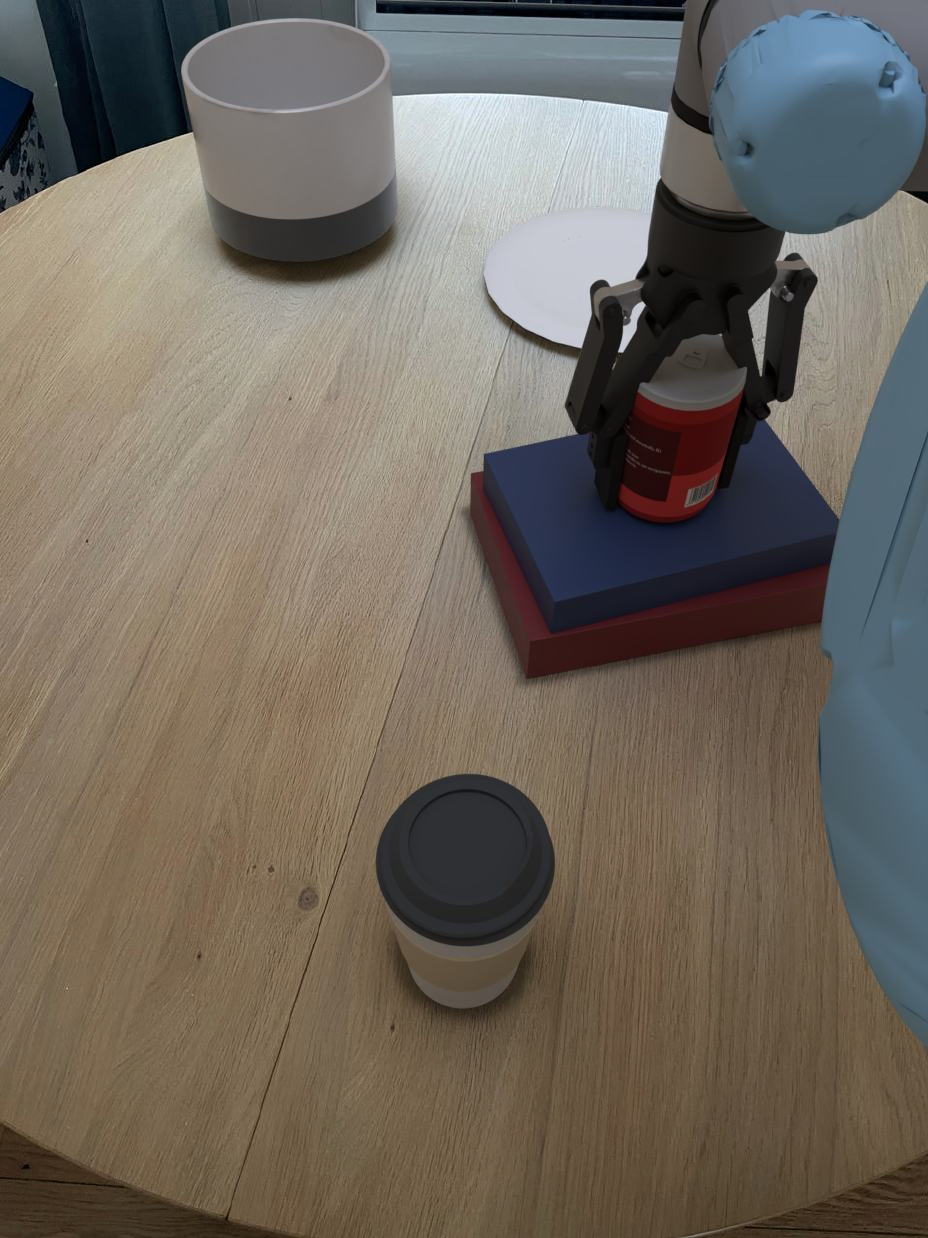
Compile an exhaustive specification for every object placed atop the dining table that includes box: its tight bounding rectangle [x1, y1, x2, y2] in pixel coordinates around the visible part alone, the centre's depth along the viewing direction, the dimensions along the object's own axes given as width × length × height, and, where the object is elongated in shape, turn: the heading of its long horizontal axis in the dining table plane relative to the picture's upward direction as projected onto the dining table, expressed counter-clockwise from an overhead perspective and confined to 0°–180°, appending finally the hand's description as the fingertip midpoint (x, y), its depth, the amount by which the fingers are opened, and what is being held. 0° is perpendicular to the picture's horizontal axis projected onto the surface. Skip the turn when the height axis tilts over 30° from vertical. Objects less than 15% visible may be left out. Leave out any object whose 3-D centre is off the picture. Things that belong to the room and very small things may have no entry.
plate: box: [483, 205, 652, 355], centre depth 104 cm, size 25×25×2 cm
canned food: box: [617, 334, 747, 522], centre depth 71 cm, size 8×8×11 cm
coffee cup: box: [375, 773, 556, 1010], centre depth 56 cm, size 9×9×15 cm
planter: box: [180, 17, 398, 263], centre depth 103 cm, size 19×19×18 cm
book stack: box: [469, 419, 840, 680], centre depth 78 cm, size 17×24×8 cm
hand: (661, 484), depth 75 cm, fingers closed on canned food, 8 cm apart
